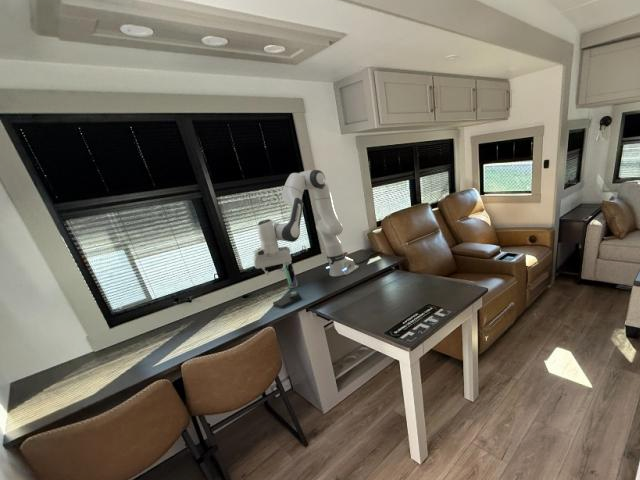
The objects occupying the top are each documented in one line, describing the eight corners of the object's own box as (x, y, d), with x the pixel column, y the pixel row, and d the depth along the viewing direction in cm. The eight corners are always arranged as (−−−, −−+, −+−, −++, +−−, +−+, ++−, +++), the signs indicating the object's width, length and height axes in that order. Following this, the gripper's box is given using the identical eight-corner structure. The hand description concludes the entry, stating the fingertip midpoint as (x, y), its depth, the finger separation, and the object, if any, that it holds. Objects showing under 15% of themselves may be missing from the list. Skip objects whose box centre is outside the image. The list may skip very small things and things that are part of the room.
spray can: (297, 286, 211) (289, 258, 203) (289, 288, 209) (281, 260, 202) (297, 284, 216) (290, 256, 208) (289, 286, 214) (281, 258, 207)
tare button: (294, 293, 190) (294, 291, 189) (298, 294, 188) (297, 291, 187) (290, 295, 188) (289, 293, 187) (293, 296, 186) (292, 293, 185)
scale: (292, 296, 196) (291, 290, 194) (303, 299, 189) (301, 293, 188) (273, 305, 186) (271, 299, 185) (283, 309, 180) (281, 302, 178)
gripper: (287, 245, 185) (292, 267, 190) (250, 251, 175) (256, 275, 179) (290, 246, 180) (295, 269, 185) (252, 253, 170) (258, 277, 174)
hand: (275, 272), depth 182 cm, fingers open, 8 cm apart
